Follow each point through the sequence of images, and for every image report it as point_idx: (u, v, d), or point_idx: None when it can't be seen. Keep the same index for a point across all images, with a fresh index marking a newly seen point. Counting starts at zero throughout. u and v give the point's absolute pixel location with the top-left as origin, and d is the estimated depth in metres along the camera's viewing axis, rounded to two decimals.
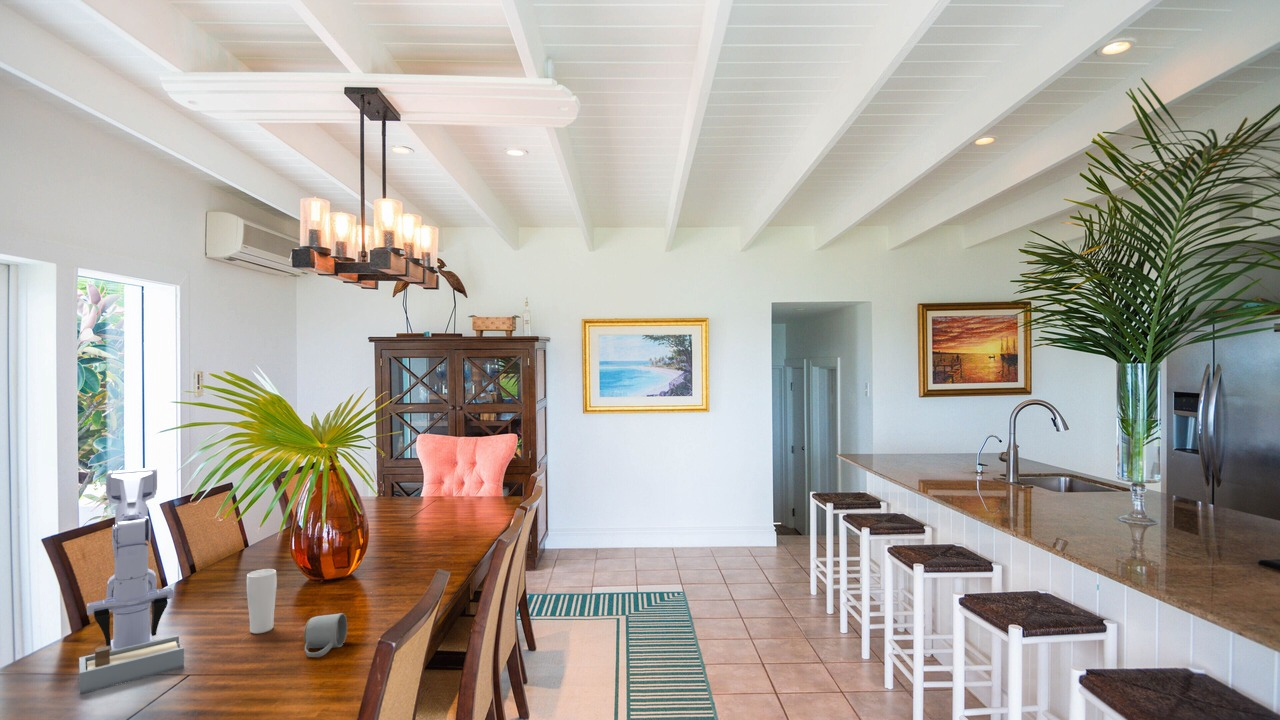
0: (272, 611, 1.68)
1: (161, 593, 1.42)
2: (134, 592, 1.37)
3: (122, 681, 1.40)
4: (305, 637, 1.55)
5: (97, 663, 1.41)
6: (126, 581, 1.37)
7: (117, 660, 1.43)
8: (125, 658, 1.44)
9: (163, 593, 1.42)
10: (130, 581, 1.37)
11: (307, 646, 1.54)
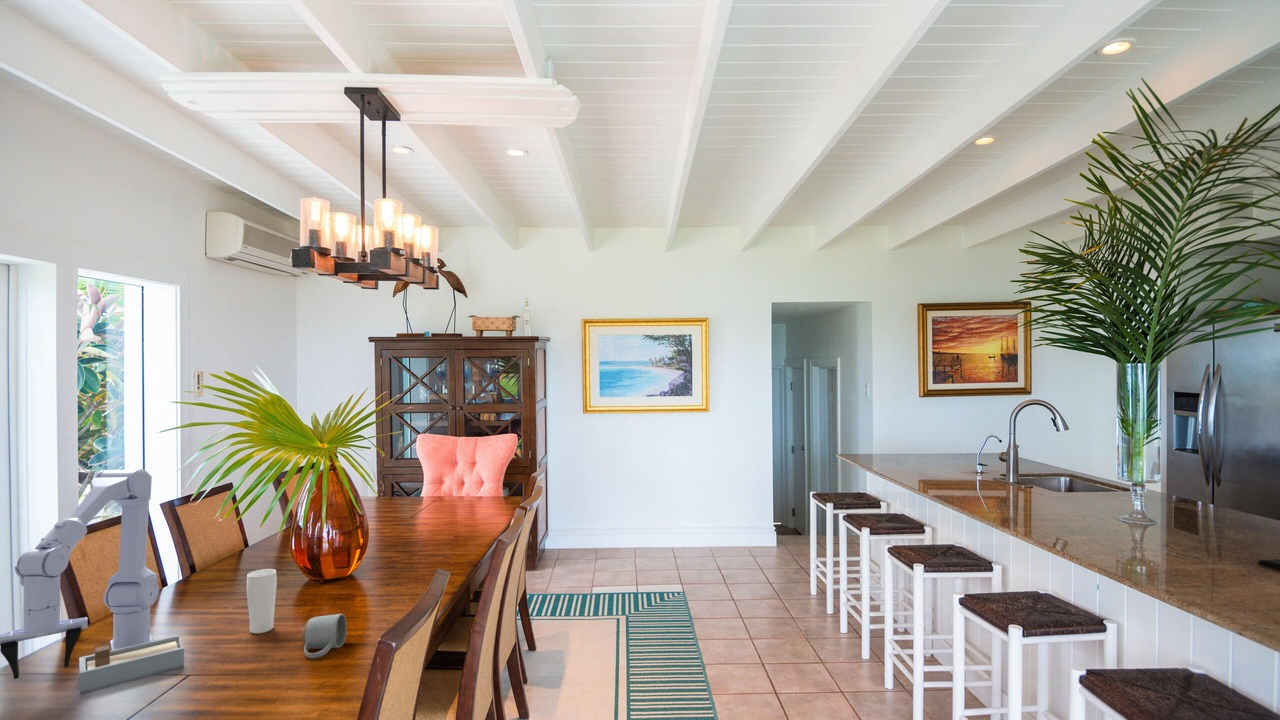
0: (272, 611, 1.68)
1: (74, 623, 1.38)
2: (44, 623, 1.34)
3: (122, 681, 1.40)
4: (304, 638, 1.54)
5: (97, 663, 1.41)
6: (35, 612, 1.33)
7: (117, 660, 1.43)
8: (125, 658, 1.44)
9: (76, 623, 1.38)
10: (39, 612, 1.33)
11: (306, 647, 1.54)
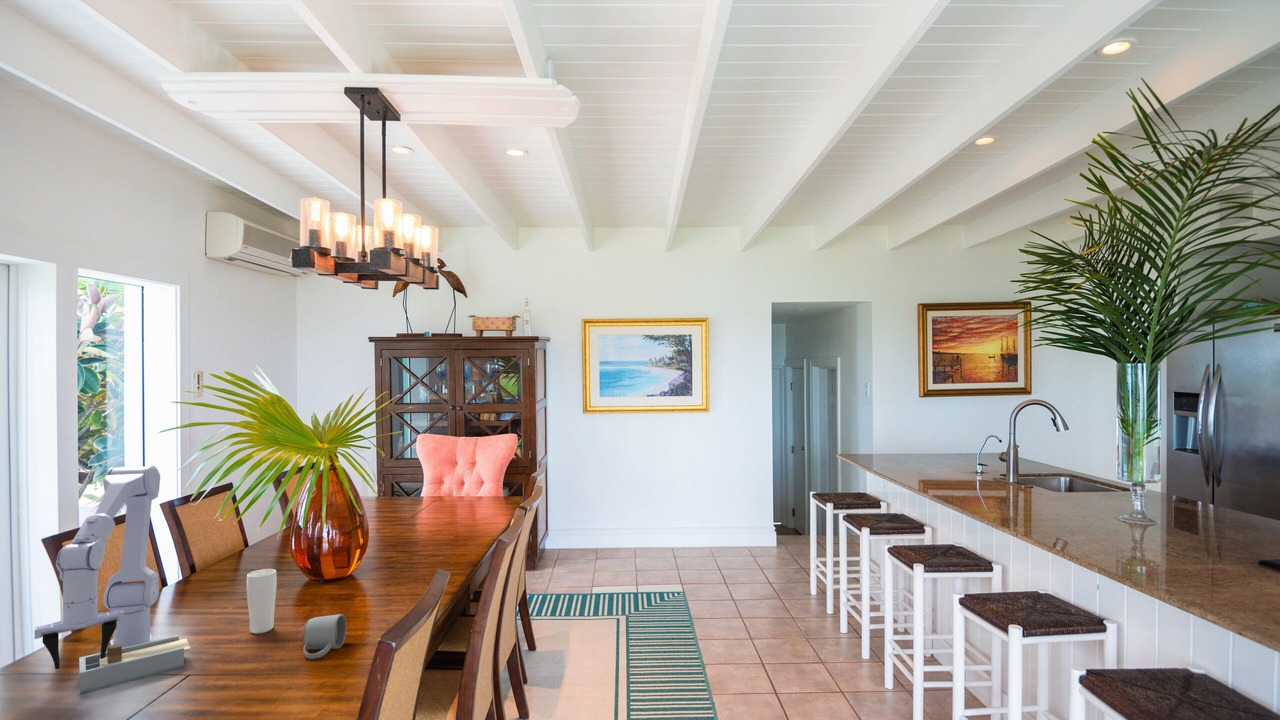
0: (272, 611, 1.68)
1: (111, 616, 1.42)
2: (83, 616, 1.38)
3: (122, 681, 1.40)
4: (304, 638, 1.54)
5: (109, 660, 1.42)
6: (74, 605, 1.37)
7: (129, 657, 1.45)
8: (137, 655, 1.46)
9: (113, 616, 1.42)
10: (78, 605, 1.37)
11: (306, 647, 1.53)
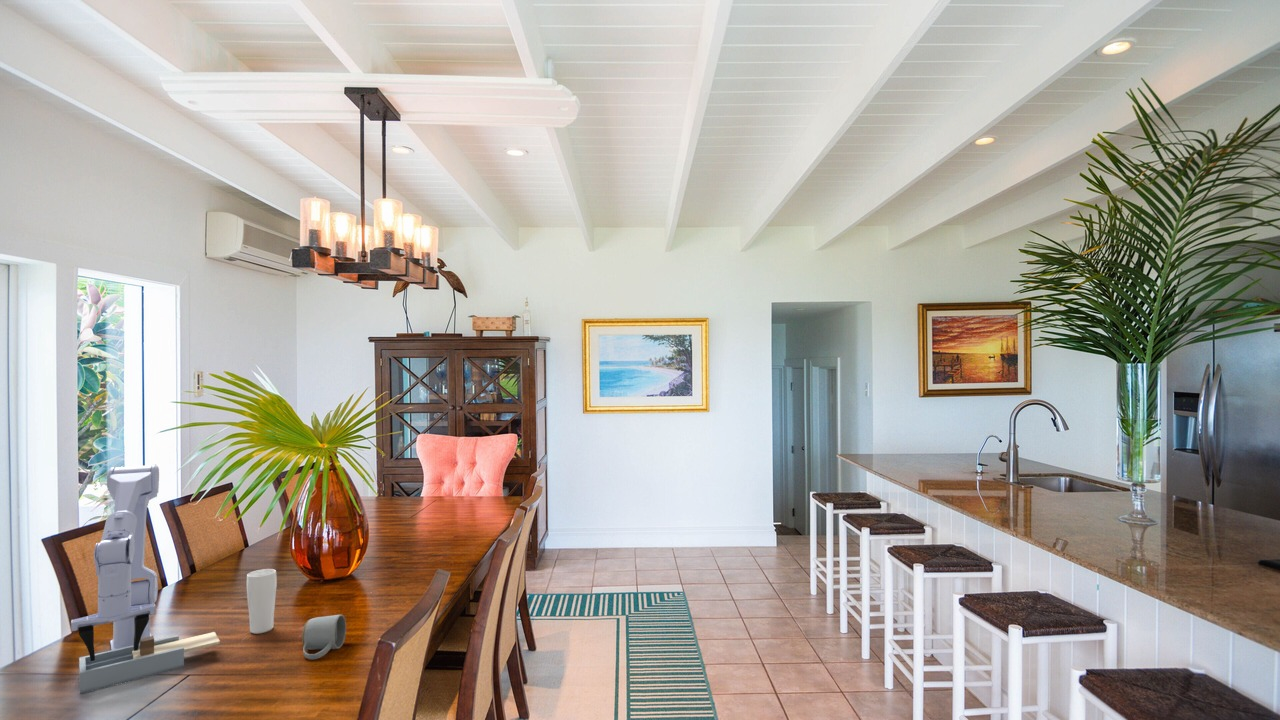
0: (272, 611, 1.68)
1: (143, 609, 1.46)
2: (117, 609, 1.42)
3: (122, 681, 1.40)
4: (303, 638, 1.54)
5: (142, 652, 1.46)
6: (109, 598, 1.41)
7: (161, 650, 1.49)
8: (168, 648, 1.50)
9: (145, 609, 1.46)
10: (113, 598, 1.41)
11: (305, 648, 1.53)
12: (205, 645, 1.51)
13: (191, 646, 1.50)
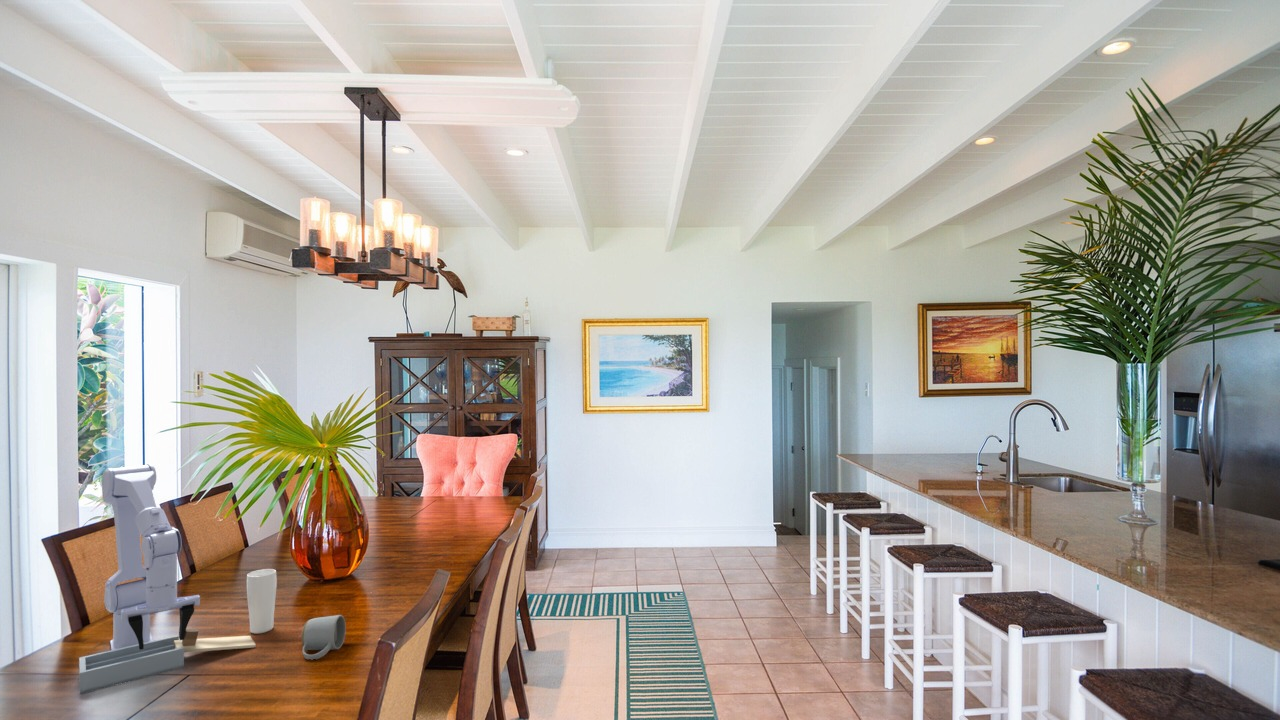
0: (272, 611, 1.68)
1: (189, 600, 1.51)
2: (165, 599, 1.47)
3: (122, 681, 1.40)
4: (303, 639, 1.54)
5: (185, 643, 1.51)
6: (157, 589, 1.46)
7: (201, 644, 1.54)
8: (208, 643, 1.55)
9: (191, 600, 1.52)
10: (161, 589, 1.47)
11: (305, 648, 1.53)
12: (242, 646, 1.56)
13: (229, 645, 1.55)
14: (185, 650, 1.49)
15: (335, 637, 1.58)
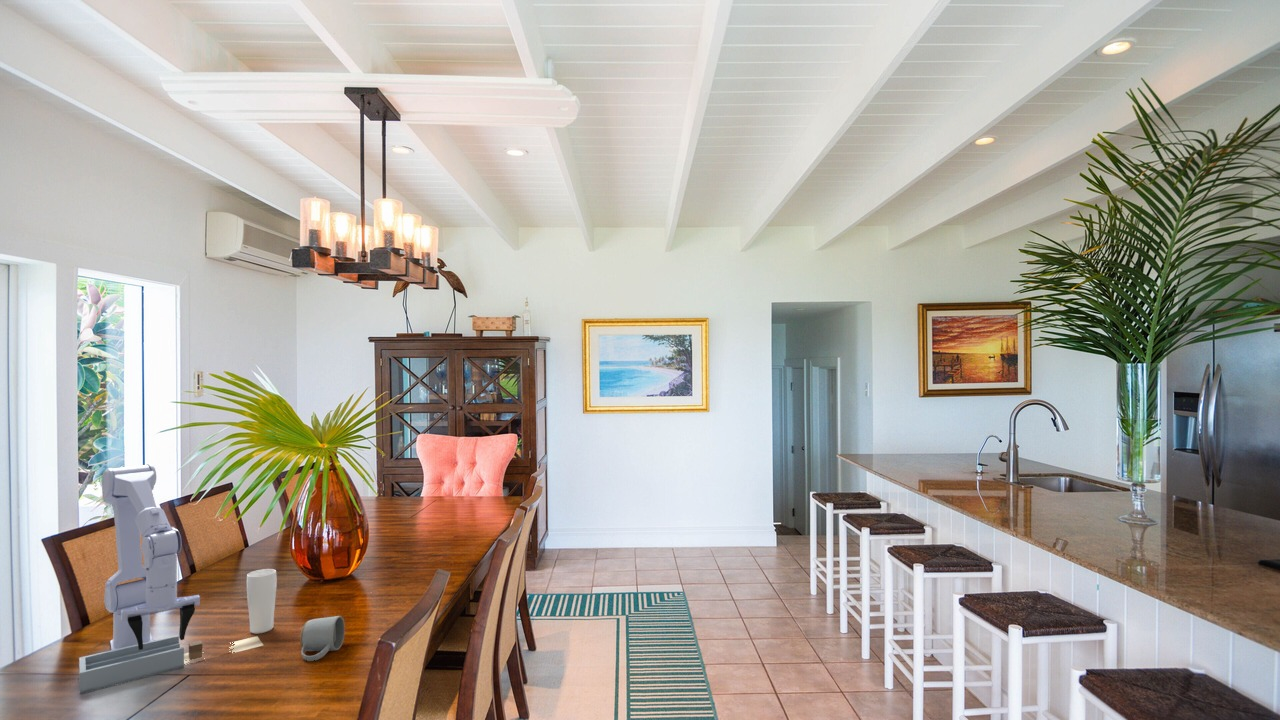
0: (272, 611, 1.68)
1: (189, 600, 1.51)
2: (165, 599, 1.47)
3: (122, 681, 1.40)
4: (302, 640, 1.53)
5: (191, 656, 1.52)
6: (157, 589, 1.47)
7: None
8: None
9: (191, 600, 1.52)
10: (161, 589, 1.47)
11: (304, 649, 1.52)
12: None
13: (237, 650, 1.56)
14: None
15: (334, 638, 1.57)
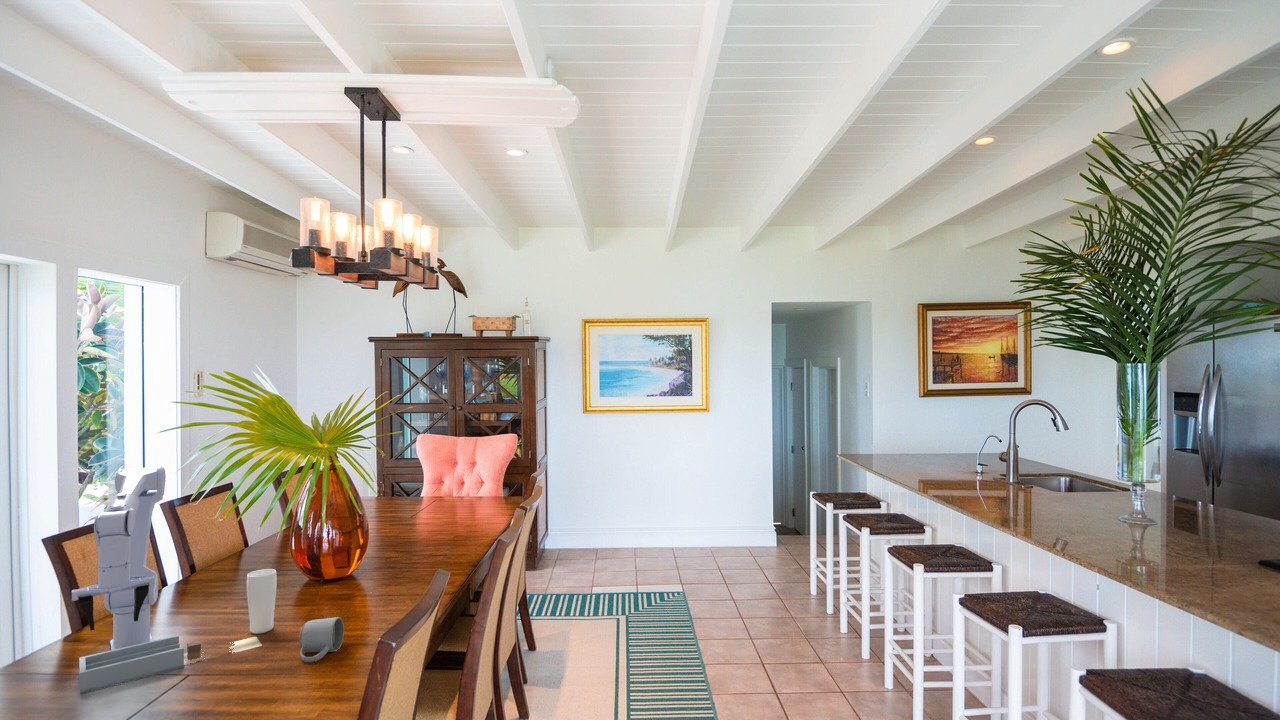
0: (272, 611, 1.68)
1: (143, 581, 1.49)
2: (117, 580, 1.45)
3: (122, 681, 1.40)
4: (301, 641, 1.52)
5: (190, 657, 1.51)
6: (109, 569, 1.44)
7: None
8: None
9: (145, 581, 1.49)
10: (113, 569, 1.44)
11: (303, 650, 1.52)
12: None
13: (235, 650, 1.56)
14: None
15: (333, 639, 1.57)
